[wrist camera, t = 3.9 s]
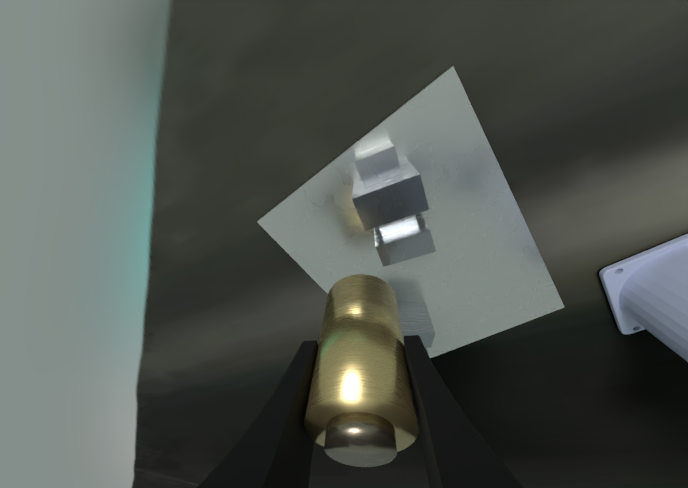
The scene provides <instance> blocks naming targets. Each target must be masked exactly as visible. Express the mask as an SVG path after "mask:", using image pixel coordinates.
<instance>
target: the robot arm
mask: <svg viewBox="0 0 688 488" xmlns="http://www.w3.org/2000/svg"><path fill="white" fill-rule="evenodd" d="M599 276H600V278H601V281H602V284H603V287H604V290H605V293H606V295H607V298H608V301H609V304H610V307H611V309H612V312H613V315H614V318H615V321H616V324H617V326H618V329H619V331H620V332H622V333H623V334H632V333H635V332H638V331H641V330H644V329H646V330H648V331H649V332H650V333H651V334H653V335H654V336H655V337H656V338H658V339H659V340H660V341H662V342H663V343H664V344H665V345H667V346H668V347H669V348H670V349H672V350H673V351H674V352H676V353H677V354H678V355H679V356H681V357H682V358H683V359H685V360H686V361H687V362H688V234H685V235H683V236H680V237H678V238H675V239H673V240H671V241H668V242H666V243H663V244H661V245H658V246H656V247H654V248H651V249H649V250H646V251H644V252H641V253H639V254H636V255H634V256H632V257H629V258H627V259H624V260H622V261H619V262H617V263H614V264H612V265H610V266H607V267H605V268H603V269H602V270H601V271H600V272H599ZM404 348H405V354H406V360H407V366H408V371H409V376H410V382H411V388H412V394H413V399H414V405H415V411H416V417H417V423H418V430H419V434H420V438H421V443H422V447H423V451H424V456H425V461H426V467H427V473H428V479H429V485H430V488H524V487H523V486H522V485H521V484H520V483H519V482H518V480H517V479H516V478H515V477H514V476H513V474H512V473H511V472H510V471H509V470H508V469H507V467H506V466H505V465H504V464H503V463H502V461H501V460H500V459H499V458H498V457H497V455H496V454H495V453H494V452H493V450H492V449H491V448H490V447H489V445H488V444H487V443H486V442H485V440H484V439H483V438H482V436H481V435H480V434H479V432H478V431H477V430H476V428H475V427H474V426H473V424H472V423H471V422H470V420H469V419H468V418H467V416H466V415H465V413H464V412H463V411H462V409H461V408H460V406H459V405H458V403H457V402H456V400H455V399H454V397H453V396H452V394H451V393H450V391H449V390H448V388H447V386H446V385H445V383H444V382H443V380H442V378H441V377H440V375H439V373H438V372H437V370H436V368H435V366H434V365H433V363H432V361H431V359H430V357H429V355H428V353H427V351H426V349H425V347H424V345H423V343H422V340H421V338H420V336H418V335H410V336H404ZM317 351H318V344H317V341H304V342H303V343H302V344H301V346H300V348H299V350H298V352H297V353H296V355H295V357H294V359H293V361H292V362H291V364H290V366H289V367H288V369H287V371H286V373H285V374H284V376H283V377H282V379H281V381H280V382H279V384H278V386H277V387H276V389H275V390H274V392H273V393H272V395H271V396H270V398H269V399H268V401H267V402H266V404H265V405H264V407H263V408H262V410H261V411H260V412H259V414H258V415H257V416H256V418H255V419H254V421H253V422H252V423H251V425H250V426H249V427H248V428H247V430H246V431H245V432H244V434H243V435H242V436H241V437H240V439H239V440H238V441H237V442H236V443H235V445H234V446H233V447H232V448H231V450H230V451H229V452H228V453H227V454H226V455H225V457H224V458H223V459H222V460H221V461H220V462H219V464H218V465H217V466H216V467H215V468H214V469H213V470H212V471H211V472H210V473H209V474H208V476H207V477H206V478H205V479H204V480H203V481H202V482H201V483H200V484H199V485H198V486H197V487H196V488H308V486H309V476H310V466H311V458H312V451H313V445H314V440H313V439H312V438H311V437H310V436H309V435H308V434H307V432H306V430H305V427H304V420H305V414H306V409H307V404H308V398H309V393H310V388H311V383H312V377H313V372H314V367H315V361H316V356H317Z"/></svg>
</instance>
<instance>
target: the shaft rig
mask: <svg viewBox="0 0 688 488" xmlns="http://www.w3.org/2000/svg"><path fill="white" fill-rule="evenodd" d="M257 222H258V223H259V224H260V225H261V226H262V227H263V228H264V229H265V231H266V232H267V233H268V234H269V235H270V236H271V237H272V238H273V239H274V240H275V241H276V242H277V243H278V244H279V245H280V246H281V247H282V248H283V249H284V250H285V251H286V252H287V253H288V254H289V255H290V256H291V257H292V258H293V259H294V260H295V261H296V262H297V263H298V264H299V265H300V266H301V267H302V268H303V269H304V270H305V271H306V272H307V273H308V274H309V275H310V276H311V277H312V278H313V279H314V280H315V282H316V283H317V284H318V285H319V286H320V287H321V288H322V289H323V290H324V291H325V292H326V293H327V294H328V293H329V291H330V289H331V287H332V286H333V285H334V284H335V283H336V282H337V281H339V280H340V279H342V278H344V277H347V276H351V275H357V274H365V275H371V276H375V277H378V278H380V279H382V280H383V281H385V282H386V283H388V284H389V285H390V286H391V288H392V289H393V290H394V293H395V295H396V300H397V305H398V311H399V317H400V323H401V329H402V335H403V341H404V336H410V335H418V336H420V338H421V340H422V343H423V345H424V347H425V349H426V351H427V353H428V355H429V357H430V358H433V357H435V356H438V355H440V354H443V353H446V352H448V351H451V350H454V349H456V348H459V347H462V346H464V345H467V344H469V343H472V342H475V341H477V340H480V339H483V338H485V337H488V336H490V335H493V334H496V333H498V332H501V331H504V330H506V329H509V328H511V327H514V326H517V325H519V324H522V323H525V322H527V321H530V320H532V319H535V318H538V317H540V316H543V315H546V314H548V313H551V312H554V311H556V310H559V309H561V308H564V305H563V303H562V301H561V298H560V296H559V294H558V292H557V290H556V288H555V285H554V283H553V281H552V279H551V277H550V275H549V272H548V270H547V268H546V266H545V264H544V262H543V259H542V257H541V255H540V253H539V251H538V249H537V246H536V244H535V242H534V240H533V238H532V236H531V233H530V231H529V229H528V227H527V225H526V223H525V220H524V218H523V216H522V214H521V212H520V210H519V207H518V205H517V203H516V201H515V199H514V197H513V194H512V192H511V190H510V188H509V186H508V184H507V181H506V179H505V177H504V175H503V173H502V171H501V168H500V166H499V164H498V162H497V160H496V158H495V155H494V153H493V151H492V149H491V147H490V145H489V142H488V140H487V138H486V136H485V134H484V132H483V129H482V127H481V125H480V123H479V121H478V119H477V116H476V114H475V112H474V110H473V108H472V106H471V103H470V101H469V99H468V97H467V95H466V93H465V90H464V88H463V86H462V84H461V82H460V80H459V77H458V75H457V73H456V71H455V69H454V67H453V66H452V67H450V68H449V69H448V70H446V71H445V72H444V73H443V74H441V75H440V76H439V77H438V78H436V79H435V80H434V81H433V82H431V83H430V84H429V85H428V86H426V87H425V88H424V89H423V90H421V91H420V92H419V93H417V94H416V95H415V96H414V97H412V98H411V99H410V100H409V101H407V102H406V103H405V104H404V105H402V106H401V107H400V108H399V109H397V110H396V111H395V112H394V113H392V114H391V115H390V116H389V117H387V118H386V119H385V120H384V121H382V122H381V123H380V124H379V125H377V126H376V127H375V128H373V129H372V130H371V131H370V132H368V133H367V134H366V135H365V136H363V137H362V138H361V139H360V140H358V141H357V142H356V143H355V144H353V145H352V146H351V147H350V148H348V149H347V150H346V151H345V152H343V153H342V154H341V155H340V156H338V157H337V158H336V159H334V160H333V161H332V162H331V163H329V164H328V165H327V166H326V167H324V168H323V169H322V170H321V171H319V172H318V173H317V174H316V175H314V176H313V177H312V178H311V179H309V180H308V181H307V182H306V183H304V184H303V185H302V186H301V187H299V188H298V189H297V190H295V191H294V192H293V193H292V194H290V195H289V196H288V197H287V198H285V199H284V200H283V201H282V202H280V203H279V204H278V205H277V206H275V207H274V208H273V209H272V210H270V211H269V212H268V213H267V214H265V215H264V216H263V217H262V218H260V219H259V220H258V221H257Z"/></svg>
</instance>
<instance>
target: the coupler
mask: <svg viewBox="0 0 688 488" xmlns="http://www.w3.org/2000/svg"><path fill="white" fill-rule="evenodd" d="M304 427H305V430H306V432H307V434H308V435H309V436H310V437H311V438H312V439H313V440H314V441H315V442H317V443H318V444H320V445H322V446H323V447H324V450H325V452H326V454H327V455H328V456H329V457H331V458H332V459H334V460H336V461H338V462H340V463H343V464H347V465H351V466H358V467H374V466H380V465H384V464H386V463H389V462H391V461H392V460H393V459H394V458H395V457H396V455H397V452H398V451H401V450H403V449H405V448H407V447H408V446H410V445H411V444H412V443H413V442H414V441H415V440H416V438H417V436H418V432H419V430H418V423H417V417H416V411H415V405H414V399H413V394H412V388H411V382H410V376H409V371H408V366H407V360H406V354H405V348H404V341H403V335H402V329H401V323H400V317H399V311H398V305H397V300H396V295H395V293H394V290H393V289H392V288H391V286H390V285H389V284H388V283H386V282H385V281H383V280H382V279H380V278H378V277H375V276H371V275H365V274H357V275H351V276H347V277H344V278H342V279H340V280H339V281H337V282H336V283H335V284H334V285H333V286H332V287H331V289H330V291H329V293H328V297H327V303H326V308H325V313H324V319H323V324H322V329H321V335H320V340H319V345H318V351H317V356H316V361H315V367H314V372H313V377H312V383H311V388H310V393H309V398H308V404H307V409H306V414H305V420H304Z"/></svg>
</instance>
